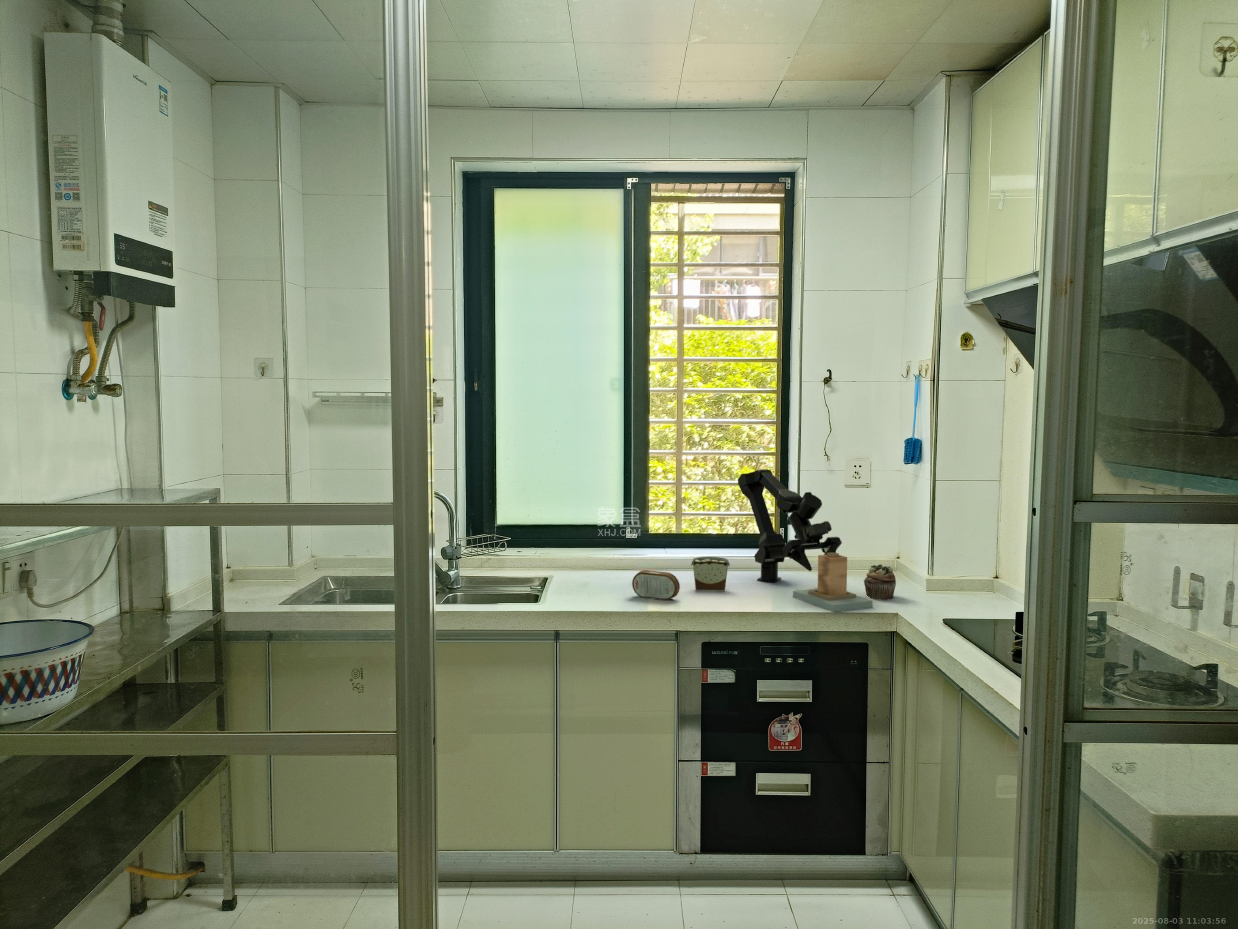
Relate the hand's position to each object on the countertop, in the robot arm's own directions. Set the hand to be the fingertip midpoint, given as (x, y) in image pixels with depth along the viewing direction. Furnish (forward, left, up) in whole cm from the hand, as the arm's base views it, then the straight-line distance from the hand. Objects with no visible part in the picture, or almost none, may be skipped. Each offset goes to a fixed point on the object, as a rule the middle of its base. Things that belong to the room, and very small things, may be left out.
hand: (823, 569), depth 253 cm
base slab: (+3, +3, -9) cm, 10 cm away
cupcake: (-12, +14, -9) cm, 21 cm away
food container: (+4, -36, -9) cm, 37 cm away
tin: (+25, -45, -10) cm, 52 cm away
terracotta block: (+3, +3, -7) cm, 8 cm away
